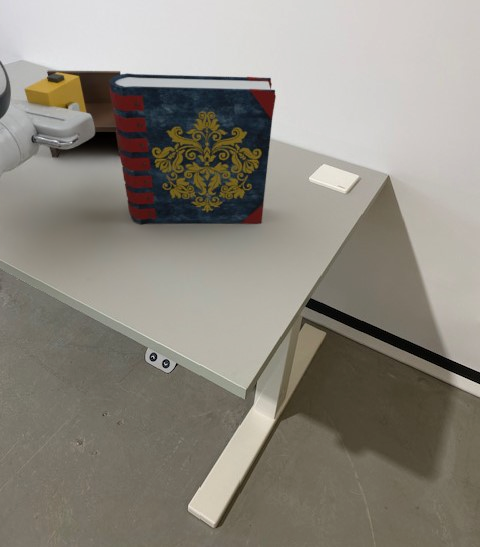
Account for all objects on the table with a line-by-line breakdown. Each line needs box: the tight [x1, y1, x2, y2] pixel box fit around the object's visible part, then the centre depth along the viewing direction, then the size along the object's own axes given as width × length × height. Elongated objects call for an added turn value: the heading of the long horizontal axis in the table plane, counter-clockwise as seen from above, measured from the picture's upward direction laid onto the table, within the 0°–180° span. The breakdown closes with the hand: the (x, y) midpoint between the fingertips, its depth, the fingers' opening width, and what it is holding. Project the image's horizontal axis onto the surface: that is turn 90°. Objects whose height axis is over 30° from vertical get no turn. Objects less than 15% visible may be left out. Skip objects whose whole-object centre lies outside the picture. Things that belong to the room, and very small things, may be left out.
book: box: [109, 72, 276, 225], centre depth 73 cm, size 25×7×25 cm, turn 94°
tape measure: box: [24, 72, 86, 113], centre depth 75 cm, size 9×4×10 cm, turn 162°
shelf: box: [46, 70, 122, 158], centre depth 95 cm, size 16×14×14 cm
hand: (61, 103), depth 75 cm, fingers closed on tape measure, 4 cm apart
